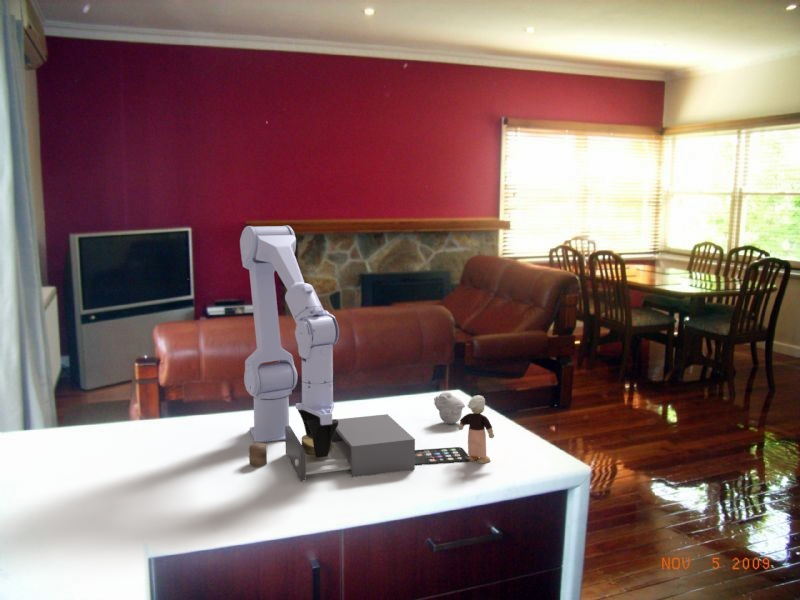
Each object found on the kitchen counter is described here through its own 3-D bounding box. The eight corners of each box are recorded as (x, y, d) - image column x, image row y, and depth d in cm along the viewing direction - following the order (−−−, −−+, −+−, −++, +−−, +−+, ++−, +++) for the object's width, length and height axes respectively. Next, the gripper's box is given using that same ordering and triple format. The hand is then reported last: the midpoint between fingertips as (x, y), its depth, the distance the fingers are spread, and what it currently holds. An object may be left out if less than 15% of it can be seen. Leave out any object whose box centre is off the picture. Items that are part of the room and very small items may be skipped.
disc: (299, 446, 131) (299, 434, 131) (328, 443, 133) (328, 431, 133) (304, 456, 126) (304, 444, 126) (334, 453, 128) (334, 440, 127)
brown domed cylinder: (248, 461, 131) (248, 443, 131) (265, 459, 132) (265, 442, 132) (250, 467, 128) (250, 449, 128) (268, 465, 129) (267, 447, 129)
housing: (330, 447, 139) (330, 419, 138) (387, 441, 143) (387, 414, 142) (352, 477, 124) (352, 446, 123) (414, 469, 128) (414, 439, 127)
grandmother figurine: (497, 459, 133) (499, 395, 132) (491, 465, 130) (493, 400, 128) (460, 453, 136) (461, 390, 135) (453, 459, 133) (454, 395, 131)
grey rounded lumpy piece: (435, 418, 159) (436, 388, 158) (465, 420, 157) (466, 390, 156) (431, 426, 153) (432, 395, 152) (463, 428, 151) (463, 397, 150)
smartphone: (388, 451, 136) (461, 446, 139) (388, 454, 136) (461, 449, 139) (395, 465, 129) (472, 459, 132) (395, 469, 129) (472, 463, 132)
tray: (283, 453, 135) (282, 426, 134) (343, 446, 139) (343, 420, 138) (297, 481, 121) (297, 452, 120) (365, 473, 125) (365, 444, 125)
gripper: (288, 372, 133) (289, 440, 135) (304, 392, 120) (304, 467, 121) (324, 370, 135) (324, 436, 137) (343, 388, 122) (343, 462, 124)
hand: (318, 450), depth 129 cm, fingers open, 6 cm apart
